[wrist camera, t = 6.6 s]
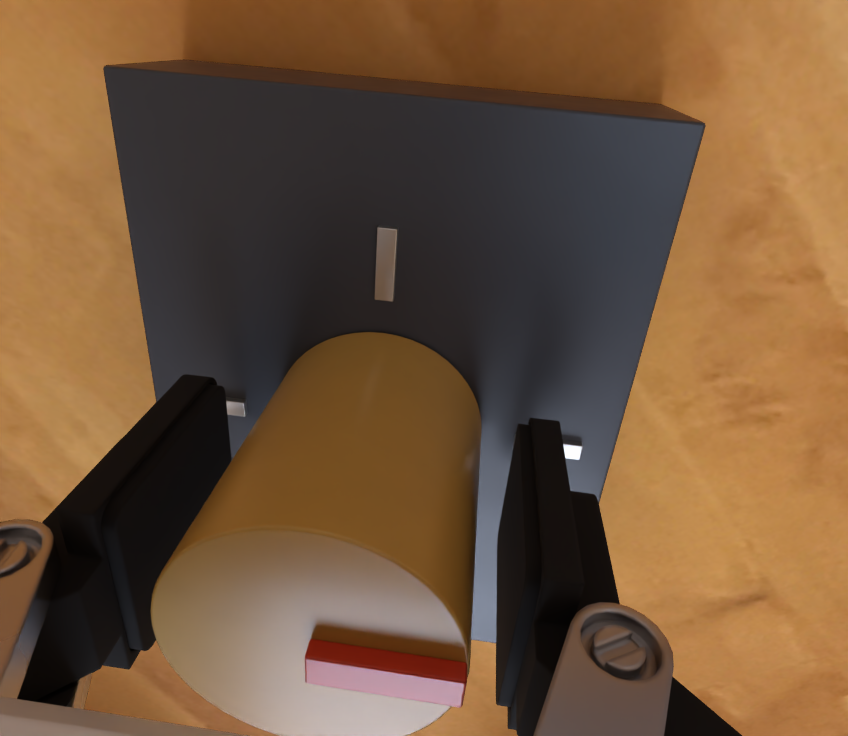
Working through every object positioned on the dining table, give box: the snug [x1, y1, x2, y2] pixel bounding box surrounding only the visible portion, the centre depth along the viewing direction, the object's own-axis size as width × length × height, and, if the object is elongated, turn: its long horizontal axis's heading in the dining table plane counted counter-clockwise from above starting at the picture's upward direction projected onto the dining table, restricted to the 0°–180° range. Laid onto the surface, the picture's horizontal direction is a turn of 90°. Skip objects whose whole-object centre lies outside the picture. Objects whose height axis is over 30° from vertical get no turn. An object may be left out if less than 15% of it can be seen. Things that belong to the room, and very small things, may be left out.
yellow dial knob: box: [150, 332, 482, 736], centre depth 11 cm, size 4×4×6 cm
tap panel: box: [103, 60, 705, 643], centre depth 14 cm, size 13×10×3 cm
